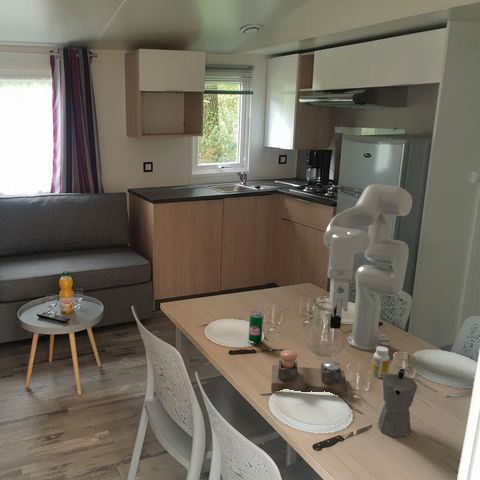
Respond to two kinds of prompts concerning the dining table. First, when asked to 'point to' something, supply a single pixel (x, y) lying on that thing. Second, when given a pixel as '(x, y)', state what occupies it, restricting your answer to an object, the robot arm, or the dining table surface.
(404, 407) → the coffeepot
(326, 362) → the grey plunger
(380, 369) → the supplement bottle
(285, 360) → the terracotta plunger
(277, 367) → the panel
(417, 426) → the dining table surface
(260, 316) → the soda can
